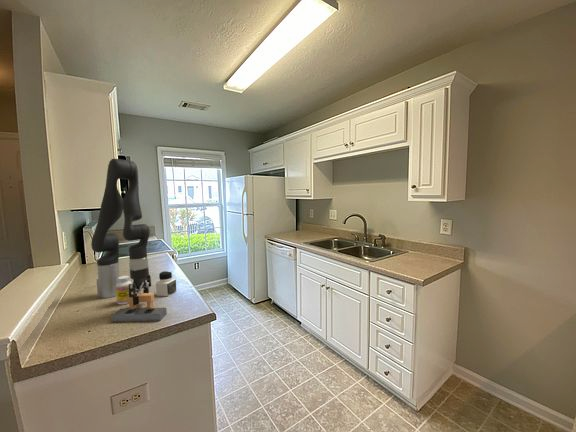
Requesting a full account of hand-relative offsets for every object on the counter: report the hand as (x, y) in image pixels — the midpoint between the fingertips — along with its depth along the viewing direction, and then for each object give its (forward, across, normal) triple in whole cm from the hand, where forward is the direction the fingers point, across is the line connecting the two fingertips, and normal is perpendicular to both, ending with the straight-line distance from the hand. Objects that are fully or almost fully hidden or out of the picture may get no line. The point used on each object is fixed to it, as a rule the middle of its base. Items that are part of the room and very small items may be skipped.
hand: (141, 300), depth 117 cm
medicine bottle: (+4, -17, +4) cm, 18 cm away
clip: (+4, 0, 0) cm, 4 cm away
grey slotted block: (+4, +10, +5) cm, 12 cm away
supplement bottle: (+4, -7, -12) cm, 15 cm away
